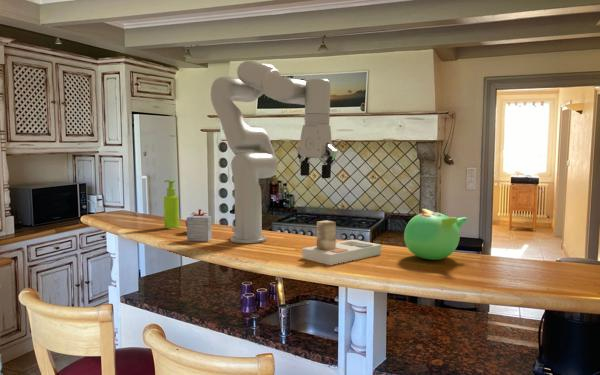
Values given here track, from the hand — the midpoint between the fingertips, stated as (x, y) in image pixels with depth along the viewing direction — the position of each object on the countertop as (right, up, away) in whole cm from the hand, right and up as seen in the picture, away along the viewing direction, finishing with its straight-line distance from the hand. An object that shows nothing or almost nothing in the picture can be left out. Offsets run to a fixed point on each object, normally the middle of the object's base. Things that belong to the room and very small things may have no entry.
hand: (315, 176), depth 147 cm
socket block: (+8, -24, -1) cm, 26 cm away
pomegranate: (-45, -21, +42) cm, 65 cm away
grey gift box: (-41, -23, +25) cm, 53 cm away
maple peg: (+3, -25, -3) cm, 25 cm away
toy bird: (+35, -25, -4) cm, 43 cm away
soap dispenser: (-59, -20, +54) cm, 82 cm away
